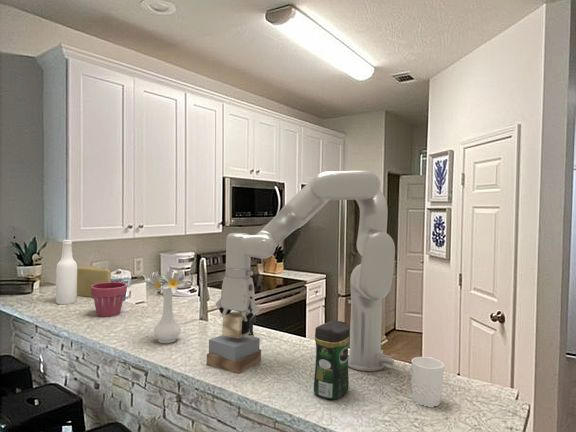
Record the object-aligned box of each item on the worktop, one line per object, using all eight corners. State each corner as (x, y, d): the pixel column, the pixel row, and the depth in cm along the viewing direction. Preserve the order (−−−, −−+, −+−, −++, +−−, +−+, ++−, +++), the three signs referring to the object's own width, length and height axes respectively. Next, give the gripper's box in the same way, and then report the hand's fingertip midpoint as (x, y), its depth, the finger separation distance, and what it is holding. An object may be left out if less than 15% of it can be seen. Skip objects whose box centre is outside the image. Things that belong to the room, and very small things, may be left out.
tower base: (260, 362, 129) (261, 349, 129) (239, 375, 119) (239, 361, 119) (229, 354, 135) (229, 342, 135) (206, 366, 124) (206, 353, 124)
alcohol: (51, 303, 193) (52, 240, 192) (67, 299, 201) (68, 238, 200) (64, 305, 190) (65, 241, 189) (80, 302, 198) (81, 240, 197)
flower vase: (161, 331, 156) (162, 265, 155) (197, 340, 146) (198, 270, 146) (132, 340, 145) (133, 269, 144) (169, 351, 135) (170, 275, 135)
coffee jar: (327, 382, 114) (329, 316, 114) (352, 390, 110) (354, 321, 109) (308, 394, 107) (310, 323, 106) (334, 403, 102) (336, 329, 101)
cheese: (118, 298, 207) (118, 269, 207) (100, 302, 199) (100, 271, 198) (93, 292, 219) (93, 264, 219) (75, 295, 211) (75, 266, 211)
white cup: (435, 394, 109) (436, 356, 109) (447, 408, 101) (449, 368, 101) (406, 393, 109) (407, 356, 108) (416, 408, 101) (417, 368, 100)
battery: (242, 343, 145) (243, 311, 145) (235, 340, 147) (236, 309, 147) (257, 338, 150) (257, 307, 150) (249, 336, 153) (250, 306, 152)
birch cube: (249, 333, 128) (250, 314, 128) (238, 338, 123) (239, 318, 122) (233, 330, 131) (234, 311, 130) (222, 335, 125) (222, 315, 125)
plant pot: (114, 319, 169) (114, 289, 169) (83, 317, 172) (83, 287, 171) (132, 311, 184) (133, 282, 183) (103, 309, 186) (104, 281, 185)
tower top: (259, 350, 128) (259, 338, 128) (234, 361, 119) (235, 347, 119) (233, 343, 134) (233, 331, 134) (208, 352, 125) (208, 339, 125)
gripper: (268, 274, 126) (266, 332, 126) (222, 269, 133) (220, 323, 134) (255, 277, 119) (253, 339, 119) (207, 272, 127) (206, 329, 127)
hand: (236, 330), depth 127 cm, fingers closed on birch cube, 6 cm apart
